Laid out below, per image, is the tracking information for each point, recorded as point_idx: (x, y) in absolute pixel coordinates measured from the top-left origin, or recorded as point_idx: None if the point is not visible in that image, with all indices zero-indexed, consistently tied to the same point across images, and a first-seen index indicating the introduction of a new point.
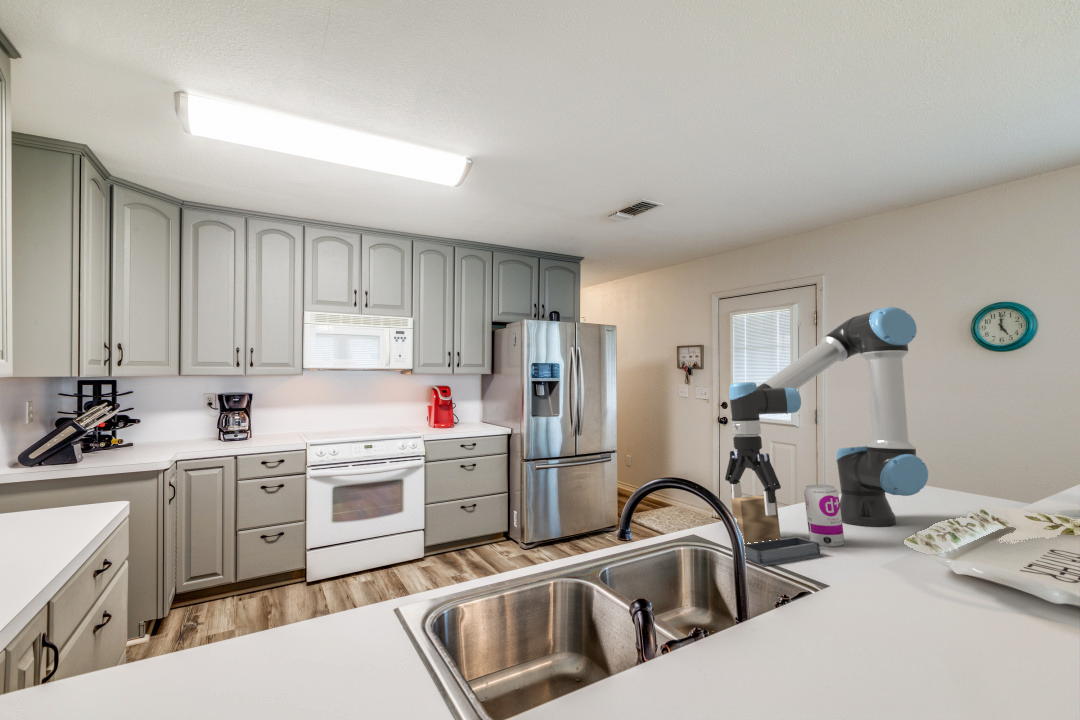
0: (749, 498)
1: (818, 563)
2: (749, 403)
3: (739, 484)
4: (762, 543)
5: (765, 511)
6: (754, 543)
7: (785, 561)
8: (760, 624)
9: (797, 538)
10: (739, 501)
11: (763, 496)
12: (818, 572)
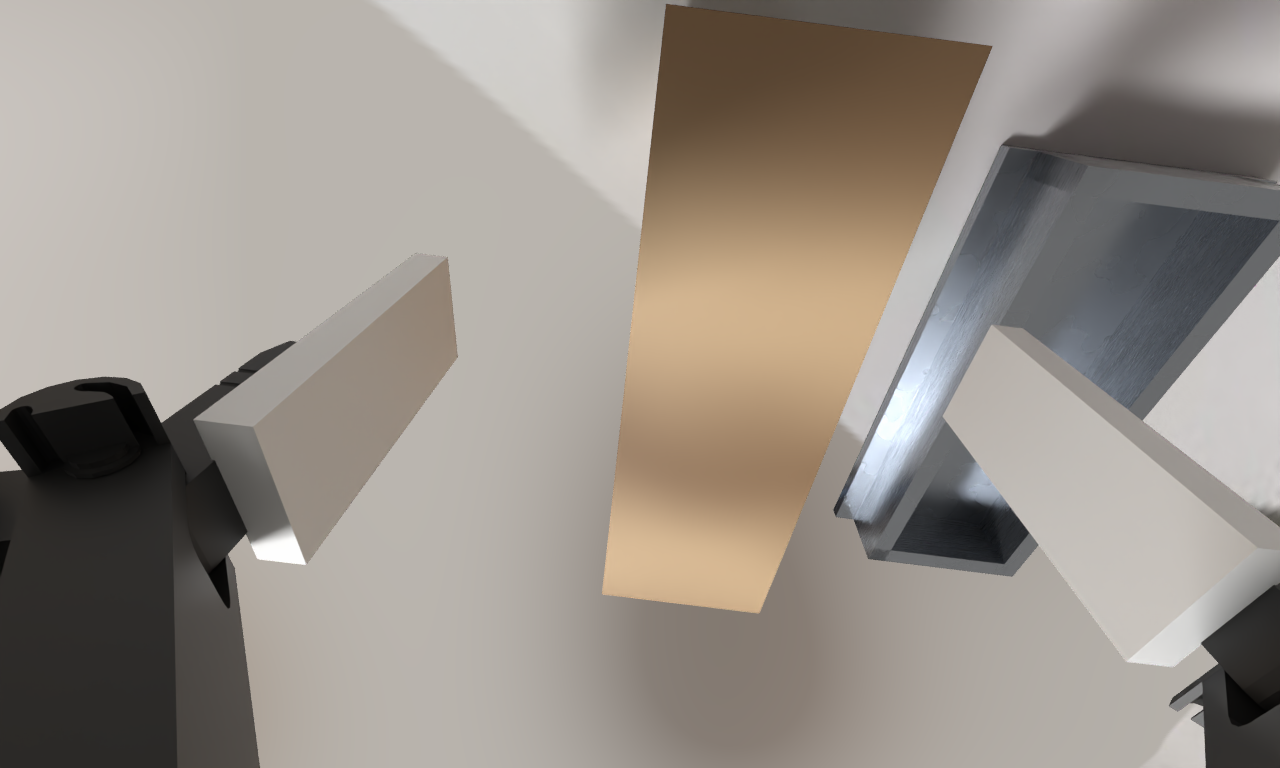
0: (730, 483)
1: (1245, 324)
2: None
3: (273, 447)
4: (939, 462)
5: (960, 438)
6: (911, 499)
7: None
8: (1174, 752)
9: (1099, 196)
10: (741, 603)
11: (775, 237)
12: (1267, 433)
